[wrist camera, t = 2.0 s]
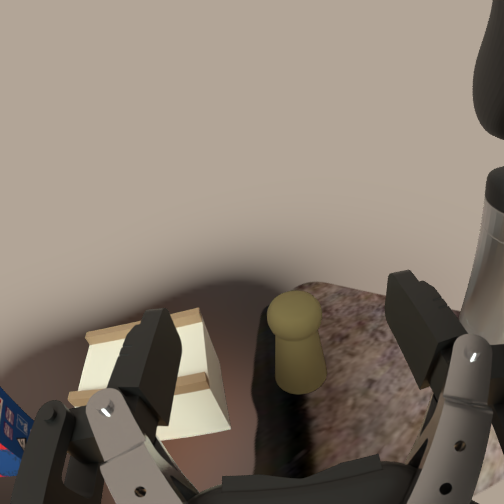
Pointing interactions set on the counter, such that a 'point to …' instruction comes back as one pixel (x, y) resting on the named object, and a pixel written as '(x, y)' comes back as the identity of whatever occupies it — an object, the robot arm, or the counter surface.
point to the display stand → (188, 381)
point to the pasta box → (12, 435)
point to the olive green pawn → (297, 342)
